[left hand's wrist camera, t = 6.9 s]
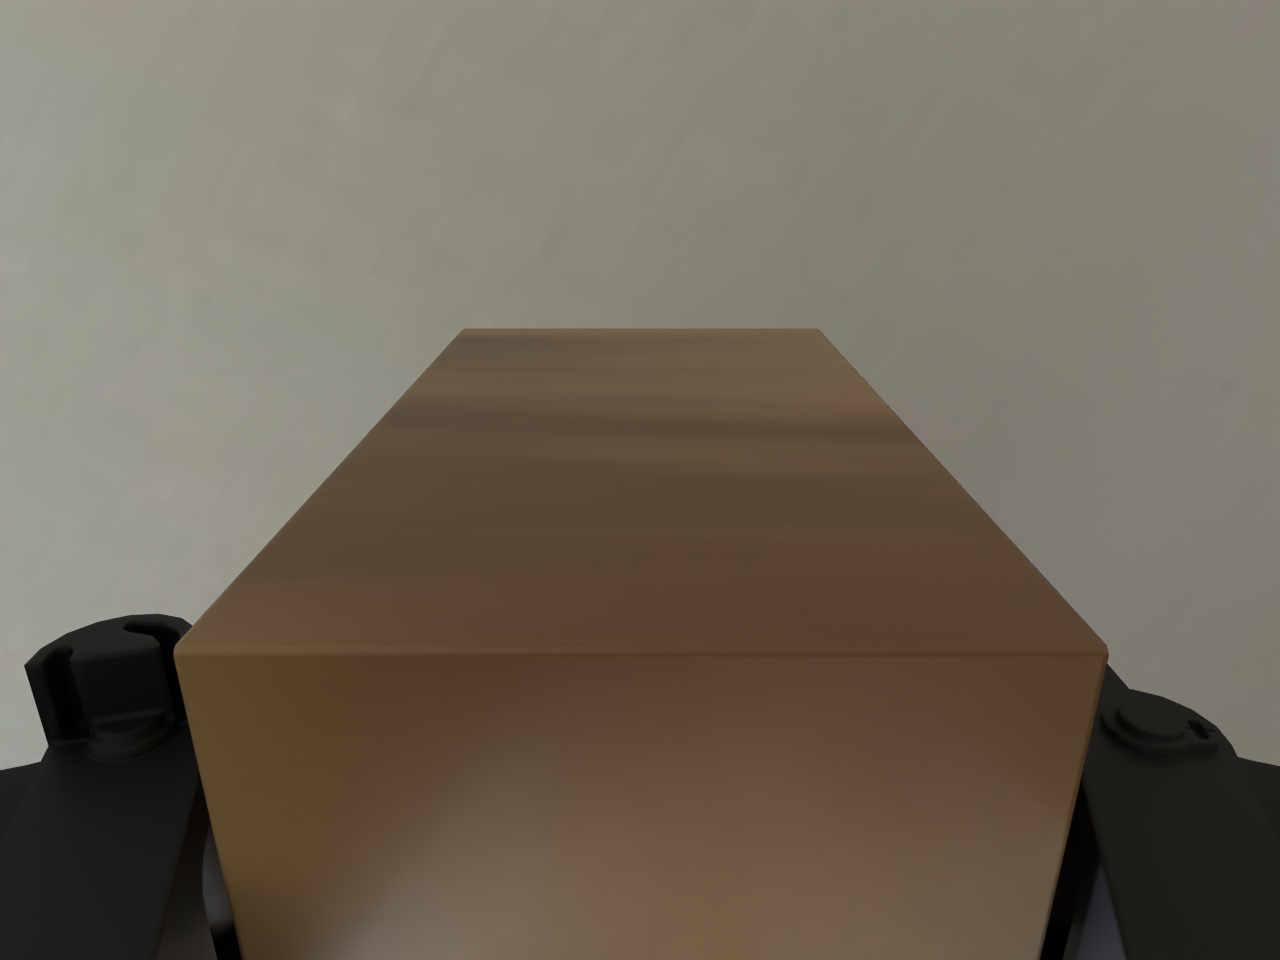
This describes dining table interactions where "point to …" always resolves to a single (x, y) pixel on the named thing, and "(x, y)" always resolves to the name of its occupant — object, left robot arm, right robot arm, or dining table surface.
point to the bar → (640, 675)
